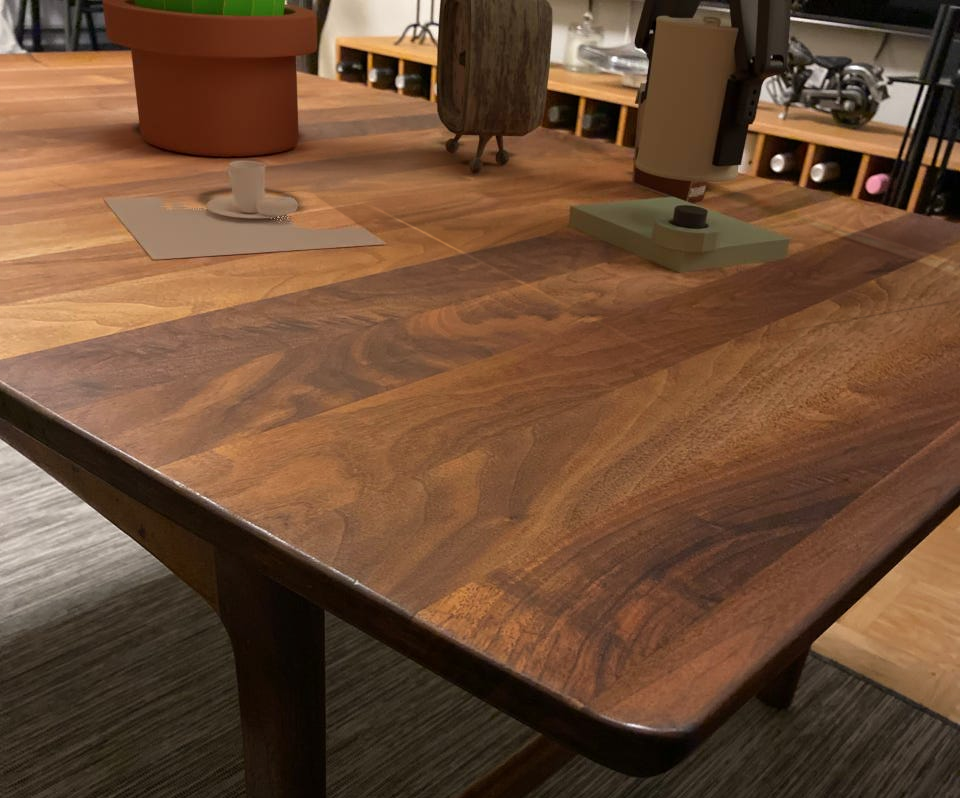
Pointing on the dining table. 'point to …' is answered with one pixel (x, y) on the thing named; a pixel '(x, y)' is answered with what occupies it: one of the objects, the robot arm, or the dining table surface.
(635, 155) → the food container
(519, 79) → the tabletop clock
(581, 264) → the dining table surface
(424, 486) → the dining table surface
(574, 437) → the dining table surface
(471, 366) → the dining table surface
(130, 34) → the potted cactus
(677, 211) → the tare button
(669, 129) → the can
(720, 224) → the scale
